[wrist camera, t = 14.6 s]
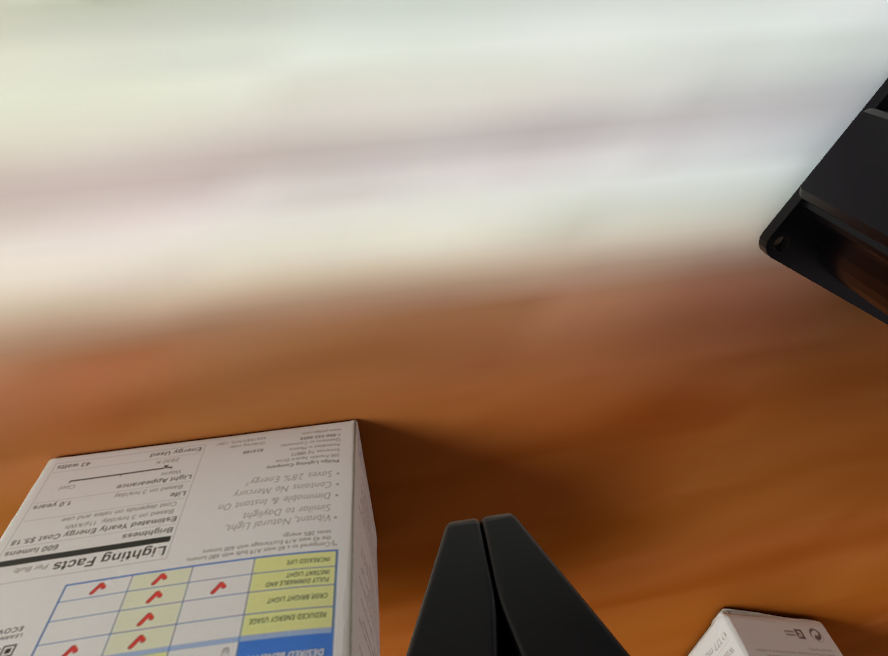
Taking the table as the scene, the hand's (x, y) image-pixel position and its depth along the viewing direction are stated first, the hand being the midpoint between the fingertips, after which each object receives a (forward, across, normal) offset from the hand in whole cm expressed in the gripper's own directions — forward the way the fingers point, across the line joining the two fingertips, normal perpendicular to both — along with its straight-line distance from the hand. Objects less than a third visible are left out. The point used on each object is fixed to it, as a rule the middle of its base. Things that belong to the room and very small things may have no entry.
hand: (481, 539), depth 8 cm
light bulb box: (+12, +8, +10) cm, 18 cm away
